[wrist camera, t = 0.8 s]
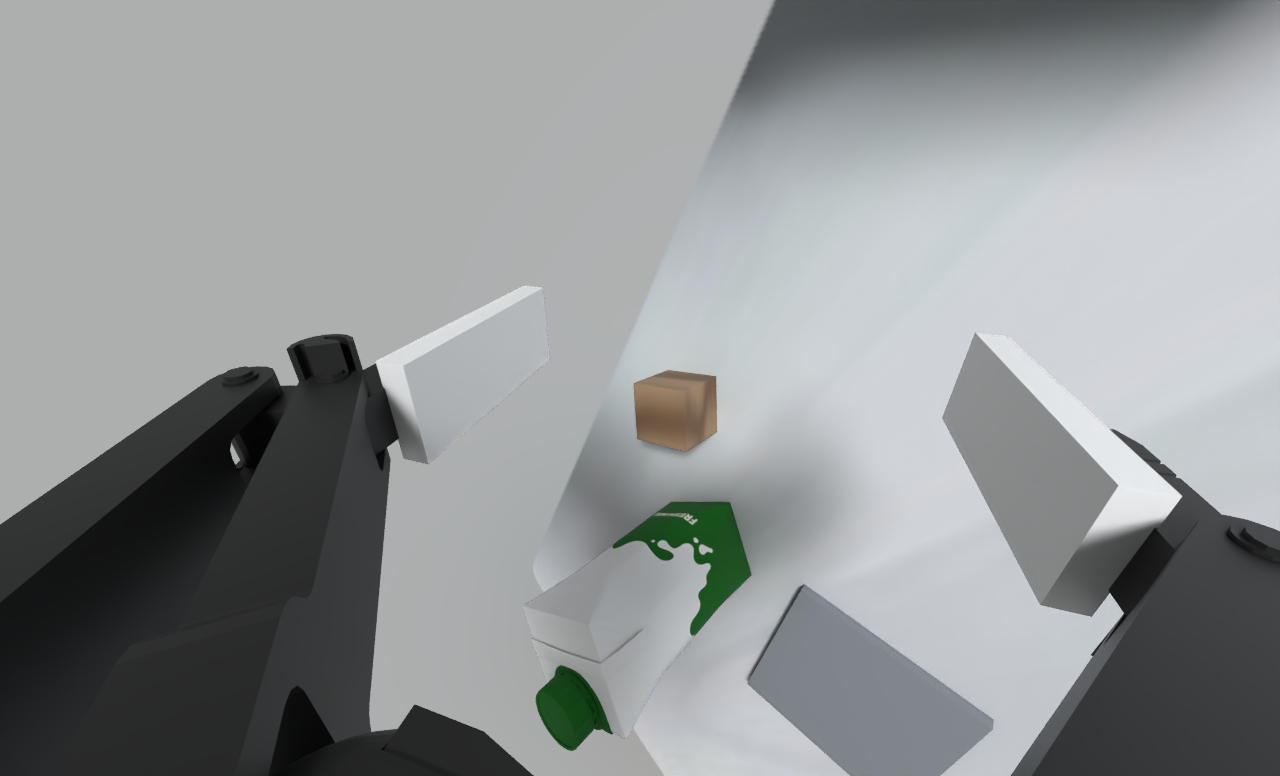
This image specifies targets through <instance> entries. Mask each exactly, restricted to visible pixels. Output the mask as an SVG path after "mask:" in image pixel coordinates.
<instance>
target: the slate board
mask: <svg viewBox="0 0 1280 776" xmlns="http://www.w3.org/2000/svg"><path fill="white" fill-rule="evenodd" d="M747 684H748V685H749V686H751V687H752V688H753V689H754V690H755V691H756V692H757V693H758V694H759V695H761V696H762V697H763V698H764V699H765V700H766V701H767V702H768V703H770V704H771V705H772V706H773V707H774V708H775V709H776V710H777V711H779V712H780V713H781V714H782V715H783V716H784V717H785V718H786V719H787V720H789V721H790V722H791V723H792V724H793V725H794V726H795V727H796V728H798V729H799V730H800V731H801V732H802V733H803V734H804V735H805V736H807V737H808V738H809V739H810V740H811V741H812V742H813V743H814V744H815V745H817V746H818V747H819V748H820V749H821V750H822V751H823V752H824V753H826V754H827V755H828V756H829V757H830V758H831V759H832V760H833V761H834V762H836V763H837V764H838V765H839V766H840V767H841V768H842V769H843V770H845V771H846V772H847V773H848V774H849V775H850V776H940V775H941V774H943V773H944V772H945V771H946V770H947V769H948V768H949V767H950V766H952V765H953V764H954V763H955V762H956V761H957V760H958V759H960V758H961V757H962V756H963V755H964V754H965V753H966V752H968V751H969V750H970V749H971V748H972V747H973V746H974V745H976V744H977V743H978V742H979V741H980V740H981V739H982V738H984V737H985V736H986V735H987V734H988V733H989V732H990V731H992V730H993V719H991V718H990V717H988V716H987V715H986V714H984V713H983V712H982V711H980V710H979V709H977V708H976V707H975V706H973V705H972V704H970V703H969V702H968V701H966V700H965V699H963V698H962V697H961V696H959V695H958V694H956V693H955V692H954V691H952V690H951V689H949V688H948V687H947V686H945V685H944V684H943V683H941V682H940V681H938V680H937V679H936V678H934V677H933V676H931V675H930V674H929V673H927V672H926V671H924V670H923V669H922V668H920V667H919V666H917V665H916V664H915V663H913V662H912V661H910V660H909V659H908V658H906V657H905V656H903V655H902V654H901V653H899V652H898V651H897V650H895V649H894V648H892V647H891V646H890V645H888V644H887V643H885V642H884V641H883V640H881V639H880V638H878V637H877V636H876V635H874V634H873V633H871V632H870V631H869V630H867V629H866V628H864V627H863V626H862V625H860V624H859V623H857V622H856V621H855V620H853V619H852V618H851V617H849V616H848V615H846V614H845V613H844V612H842V611H841V610H839V609H838V608H837V607H835V606H834V605H832V604H831V603H830V602H828V601H827V600H825V599H824V598H823V597H821V596H820V595H818V594H817V593H816V592H814V591H813V590H812V589H810V588H809V587H807V586H806V585H804V586H803V588H802V589H801V591H800V593H799V594H798V596H797V598H796V600H795V601H794V603H793V605H792V607H791V608H790V610H789V612H788V614H787V615H786V617H785V619H784V621H783V622H782V624H781V626H780V627H779V629H778V631H777V633H776V634H775V636H774V638H773V640H772V641H771V643H770V645H769V647H768V648H767V650H766V652H765V653H764V655H763V657H762V659H761V660H760V662H759V664H758V666H757V667H756V669H755V671H754V673H753V674H752V676H751V678H750V680H749V681H748V683H747Z"/></svg>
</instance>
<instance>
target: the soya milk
mask: <svg viewBox="0 0 1280 776" xmlns="http://www.w3.org/2000/svg"><path fill="white" fill-rule="evenodd" d="M750 576H751V571H750V568H749V565H748V561H747V558H746V555H745V551H744V548H743V545H742V541H741V538H740V535H739V531H738V528H737V525H736V521H735V518H734V515H733V511H732V508H731V505H730V502H671V503H669V504H668V505H666V506H665V507H664V508H662V509H661V510H659V511H658V512H657V513H655V514H654V515H652V516H651V517H650V518H648V519H647V520H646V521H644V522H643V523H642V524H640V525H639V526H638V527H636V528H635V529H634V530H632V531H631V532H630V533H628V534H627V535H626V536H624V537H623V538H622V539H620V540H619V541H618V542H616V543H615V544H614V545H612V546H611V547H609V548H608V549H607V550H605V551H604V552H603V553H601V554H600V555H599V556H597V557H596V558H595V559H593V560H592V561H591V562H589V563H588V564H587V565H585V566H584V567H583V568H581V569H580V570H578V571H577V572H575V573H574V574H572V575H571V576H569V577H568V578H566V579H565V580H563V581H561V582H560V583H558V584H557V585H555V586H554V587H552V588H550V589H549V590H547V591H546V592H544V593H542V594H541V595H539V596H538V597H536V598H535V599H533V600H531V601H530V602H528V603H526V604H525V605H523V609H524V612H525V615H526V618H527V621H528V624H529V627H530V630H531V633H532V635H533V638H532V643H533V646H534V649H535V651H536V653H537V655H538V658H539V660H540V663H541V666H542V669H543V672H544V674H545V677H546V680H547V684H546V685H545V686H544V687H543V688H542V689H541V690H540V691H539V692H538V693H537V695H536V705H537V708H538V712H539V715H540V717H541V719H542V721H543V723H544V725H545V727H546V728H547V730H548V731H549V733H550V734H551V735H552V737H553V738H554V739H555V740H556V741H557V742H558V743H559V744H560V745H561V746H562V747H564V748H565V749H567V750H570V751H573V750H575V749H576V748H577V747H578V746H579V745H580V744H581V743H582V742H583V741H584V740H585V738H586V737H587V736H588V735H589V734H590V733H591V732H592V731H593V729H596V730H601V729H603V730H604V731H606V732H608V733H610V734H613V733H614V734H616V735H618V736H619V737H621V738H623V739H626V738H627V737H628V735H629V733H630V731H631V730H632V728H633V726H634V724H635V722H636V720H637V719H638V717H639V715H640V713H641V711H642V709H643V707H644V706H645V704H646V702H647V700H648V698H649V696H650V695H651V693H652V691H653V689H654V687H655V685H656V684H657V682H658V680H659V679H660V677H661V676H662V675H663V673H664V672H665V671H666V670H667V668H668V667H669V666H670V665H671V664H672V662H673V661H674V660H675V659H676V658H677V656H678V655H679V654H680V653H681V652H682V651H683V649H684V648H685V647H686V646H687V645H688V643H689V642H690V641H691V640H692V639H693V637H694V636H695V635H696V634H697V633H698V631H699V630H700V629H701V628H702V627H703V626H704V624H705V623H706V622H707V621H708V620H709V618H710V617H711V616H712V615H713V614H714V612H715V611H716V610H717V609H718V608H719V607H720V606H721V605H722V603H723V602H724V601H725V600H726V599H728V598H729V597H730V596H731V595H732V594H733V593H734V592H735V591H736V590H737V589H738V588H739V587H740V586H741V585H742V584H743V583H744V582H745V581H746V580H747V579H748V578H749V577H750Z"/></svg>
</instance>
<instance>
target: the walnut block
mask: <svg viewBox="0 0 1280 776" xmlns="http://www.w3.org/2000/svg"><path fill="white" fill-rule="evenodd" d="M633 384H634V398H635V413H636V427H637V439H639V440H643V441H647V442H651V443H655V444H658V445H662V446H666V447H670V448H674V449H678V450H682V451H685V452H686V451H687V450H689V449H690V448H692V447H693V446H695V445H697V444H698V443H700V442H701V441H703V440H705V439H706V438H708V437H709V436H711V435H712V434H714V433H716V432H717V403H716V376H709V375H701V374H693V373H686V372H678V371H670V370H667V371H665V372H662V373H660V374H657V375H654V376H652V377H649V378H646V379H644V380H641V381H638V382H636V383H633Z"/></svg>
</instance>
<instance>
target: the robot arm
mask: <svg viewBox="0 0 1280 776" xmlns="http://www.w3.org/2000/svg"><path fill="white" fill-rule="evenodd" d="M545 313H546V312H545V301H544V290H543V288H542V287H533V286H522V287H520V288H518V289H516V290H514V291H512V292H510V293H508V294H506V295H504V296H502V297H500V298H498V299H496V300H494V301H492V302H490V303H488V304H487V305H485V306H483V307H481V308H479V309H477V310H475V311H473V312H471V313H469V314H467V315H465V316H463V317H461V318H459V319H457V320H456V321H454V322H451V323H449V324H447V325H445V326H444V327H442V328H440V329H438V330H436V331H434V332H432V333H430V334H428V335H426V336H424V337H422V338H420V339H418V340H416V341H414V342H412V343H410V344H408V345H407V346H405V347H402V348H401V349H399V350H397V351H395V352H393V353H391V354H389V355H387V356H385V357H383V358H381V359H379V360H377V361H376V364H374V365H372V366H370V367H368V368H366V369H365V370H363V369H362V366H361V363H360V360H359V356H358V353H357V350H356V346H355V343H354V340H353V337H351V336H348V335H342V334H331V335H321V336H315V337H311V338H307V339H304V340H301V341H298V342H296V343H294V344H292V345H291V346H290V347H288V348H287V351H288V354H289V356H290V359H291V362H292V364H293V367H294V369H295V372H296V375H297V377H298V380H299V383H298V385H297V386H280V384H279V381H278V379H277V376H276V374H275V372H274V370H273V369H272V368H269V367H239V368H235V369H231V370H229V371H227V372H226V373H224V374H221V375H218V376H216V377H214V378H212V379H210V380H209V381H207V382H206V383H204V384H203V385H201V386H200V387H198V388H197V389H196V390H194V391H193V392H191V393H190V394H188V395H187V396H186V397H184V398H183V399H181V400H180V401H178V402H177V403H175V404H174V405H173V406H171V407H170V408H168V409H167V410H165V411H164V412H162V413H161V414H159V415H158V416H157V417H155V418H154V419H152V420H151V421H149V422H148V423H146V424H145V425H144V426H142V427H141V428H139V429H138V430H136V431H135V432H134V433H132V434H131V435H129V436H128V437H126V438H125V439H123V440H122V441H121V442H119V443H118V444H116V445H115V446H113V447H112V448H110V449H109V450H107V451H106V452H104V453H103V454H102V455H100V456H99V457H97V458H96V459H95V460H93V461H92V462H90V463H89V464H87V465H86V466H84V467H83V468H81V469H80V470H79V471H77V472H76V473H74V474H73V475H71V476H70V477H68V478H67V479H65V480H64V481H63V482H61V483H60V484H58V485H57V486H55V487H54V488H52V489H51V490H50V491H48V492H47V493H45V494H44V495H43V496H41V497H39V498H38V499H37V500H35V501H34V502H32V503H31V504H29V505H28V506H27V507H25V508H24V509H22V510H21V511H19V512H18V513H16V514H15V515H13V516H12V517H11V518H9V519H8V520H6V521H5V522H3V523H2V524H1V525H0V776H533V775H532V774H531V773H530V772H529V771H527V770H526V769H525V768H524V767H523V766H522V765H521V764H520V763H518V762H517V761H516V760H515V759H514V758H513V757H511V755H509V754H508V753H507V752H506V751H505V750H504V749H503V748H502V747H500V746H499V745H498V744H497V743H496V742H495V741H494V740H493V739H491V738H490V737H489V736H488V735H487V734H486V733H485V732H483V731H481V730H478V729H476V728H473V727H471V726H468V725H465V724H463V723H460V722H458V721H456V720H453V719H450V718H448V717H445V716H443V715H440V714H437V713H435V712H432V711H430V710H428V709H425V708H422V707H420V706H417V705H414V706H413V708H412V709H411V710H410V712H409V713H408V715H407V716H406V718H405V719H404V721H403V722H402V724H401V725H400V727H399V728H398V729H393V730H384V731H375V732H371V728H370V719H369V702H370V690H371V679H372V667H373V656H374V644H375V632H376V621H377V610H378V597H379V587H380V575H381V563H382V552H383V540H384V529H385V518H386V506H387V494H388V483H389V472H390V457H389V453H388V450H387V447H388V446H389V445H391V444H392V443H393V442H395V441H396V440H397V439H398V440H399V444H400V447H401V451H402V454H403V457H404V459H408V460H412V461H416V462H421V463H425V464H430V463H431V462H432V461H433V460H434V459H435V458H437V457H438V456H439V455H440V454H441V453H442V452H443V451H445V450H446V449H447V448H448V447H449V446H450V445H452V444H453V443H454V442H455V441H456V440H457V439H459V438H460V437H461V436H462V435H463V434H464V433H465V432H466V431H468V430H469V429H470V428H471V427H473V426H474V425H475V424H476V423H477V422H478V421H479V420H481V419H482V418H483V417H484V416H485V415H486V414H488V413H489V412H490V411H491V410H492V409H493V408H494V407H496V406H497V405H498V404H499V403H500V402H501V401H502V400H504V399H505V398H506V397H507V396H508V395H510V394H511V393H512V392H513V391H514V390H515V389H517V388H518V387H519V386H520V385H521V384H522V383H523V382H525V381H526V380H527V379H528V378H529V377H530V376H531V375H533V374H534V373H535V372H536V371H537V370H539V369H540V368H541V367H542V366H543V365H544V364H545V363H547V362H548V361H549V360H550V357H549V347H548V335H547V323H546V314H545ZM942 418H943V420H944V422H945V424H946V426H947V428H948V430H949V432H950V434H951V436H952V438H953V439H954V441H955V443H956V445H957V447H958V449H959V451H960V453H961V455H962V457H963V459H964V460H965V462H966V464H967V466H968V468H969V470H970V472H971V474H972V476H973V478H974V480H975V481H976V483H977V485H978V487H979V489H980V491H981V493H982V495H983V497H984V499H985V500H986V502H987V504H988V506H989V508H990V510H991V512H992V514H993V516H994V518H995V520H996V521H997V523H998V525H999V527H1000V529H1001V531H1002V533H1003V535H1004V537H1005V539H1006V541H1007V542H1008V544H1009V546H1010V548H1011V550H1012V552H1013V554H1014V556H1015V558H1016V560H1017V562H1018V563H1019V565H1020V567H1021V569H1022V571H1023V573H1024V575H1025V577H1026V579H1027V581H1028V582H1029V584H1030V586H1031V588H1032V590H1033V592H1034V594H1035V596H1036V598H1037V600H1038V602H1039V603H1040V605H1043V606H1047V607H1052V608H1056V609H1060V610H1065V611H1069V612H1073V613H1078V614H1082V615H1087V616H1091V617H1092V616H1093V614H1094V613H1095V612H1096V610H1097V609H1098V608H1099V606H1100V605H1101V604H1102V602H1103V601H1104V600H1105V598H1106V597H1107V596H1108V594H1109V593H1111V595H1112V596H1113V598H1114V599H1115V601H1116V602H1117V603H1118V605H1119V606H1120V608H1121V609H1122V611H1123V612H1124V614H1123V616H1122V617H1121V618H1120V619H1119V621H1118V622H1117V623H1116V624H1115V626H1114V627H1113V628H1112V629H1111V631H1110V632H1109V633H1108V634H1107V636H1106V637H1105V638H1104V639H1103V641H1102V642H1101V643H1100V644H1099V645H1098V647H1097V648H1096V649H1095V650H1094V652H1093V653H1092V654H1091V655H1092V656H1093V657H1092V659H1091V660H1090V661H1089V663H1088V664H1087V666H1086V667H1085V669H1084V670H1083V672H1082V673H1081V675H1080V676H1079V677H1078V679H1077V680H1076V682H1075V683H1074V685H1073V686H1072V688H1071V689H1070V690H1069V692H1068V693H1067V695H1066V696H1065V698H1064V699H1063V701H1062V702H1061V704H1060V705H1059V706H1058V708H1057V709H1056V711H1055V712H1054V714H1053V715H1052V717H1051V718H1050V719H1049V721H1048V722H1047V724H1046V725H1045V727H1044V728H1043V730H1042V731H1041V733H1040V734H1039V735H1038V737H1037V738H1036V740H1035V741H1034V743H1033V744H1032V746H1031V747H1030V748H1029V750H1028V751H1027V753H1026V754H1025V756H1024V757H1023V759H1022V760H1021V762H1020V763H1019V764H1018V766H1017V767H1016V769H1015V770H1014V772H1013V773H1012V775H1011V776H1280V531H1277V530H1275V529H1272V528H1270V527H1267V526H1264V525H1261V524H1258V523H1255V522H1252V521H1249V520H1245V519H1241V518H1236V517H1232V516H1227V515H1221V514H1220V513H1219V512H1218V511H1217V510H1216V509H1215V508H1213V507H1212V506H1211V505H1210V504H1209V503H1208V502H1207V501H1205V500H1204V499H1203V498H1202V497H1201V496H1200V495H1199V494H1197V493H1196V492H1195V491H1194V490H1193V489H1192V488H1191V487H1189V486H1188V485H1187V484H1186V483H1185V482H1184V481H1183V480H1181V479H1180V478H1176V474H1175V473H1173V472H1172V471H1171V470H1170V469H1169V468H1168V467H1167V466H1165V465H1164V464H1160V462H1161V461H1160V460H1159V459H1157V458H1156V457H1155V456H1154V455H1153V454H1152V453H1151V452H1149V451H1148V450H1147V449H1146V448H1145V447H1144V446H1143V445H1141V444H1139V443H1137V442H1136V441H1134V440H1132V439H1130V438H1128V437H1127V436H1125V435H1123V434H1121V433H1120V432H1118V431H1116V430H1113V429H1109V428H1107V427H1106V426H1105V425H1104V424H1103V423H1102V422H1101V421H1100V420H1099V419H1098V418H1097V417H1095V416H1094V415H1093V414H1092V413H1091V412H1090V411H1089V410H1088V409H1087V408H1086V407H1085V406H1083V405H1082V404H1081V403H1080V402H1079V401H1078V400H1077V399H1076V398H1075V397H1074V396H1073V395H1071V394H1070V393H1069V392H1068V391H1067V390H1066V389H1065V388H1064V387H1063V386H1062V385H1061V384H1059V383H1058V382H1057V381H1056V380H1055V379H1054V378H1053V377H1052V376H1051V375H1050V374H1049V373H1047V372H1046V371H1045V370H1044V369H1043V368H1042V367H1041V366H1040V365H1039V364H1038V363H1037V362H1035V361H1034V360H1033V359H1032V358H1031V357H1030V356H1029V355H1028V354H1027V353H1026V352H1025V351H1023V350H1022V349H1021V348H1020V347H1019V346H1018V345H1017V344H1016V343H1015V342H1014V341H1013V340H1011V339H1010V338H1009V337H1008V336H1003V335H993V334H984V333H975V334H974V337H973V340H972V342H971V345H970V347H969V350H968V353H967V355H966V358H965V360H964V363H963V366H962V368H961V371H960V373H959V376H958V378H957V381H956V384H955V386H954V389H953V391H952V394H951V397H950V399H949V402H948V404H947V407H946V410H945V412H944V415H943V417H942ZM231 443H232V445H233V447H234V449H235V451H236V453H237V455H238V457H239V458H240V461H239V462H238V463H237V464H236V465H235V464H234V461H233V459H232V456H231V453H230V447H231Z"/></svg>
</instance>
